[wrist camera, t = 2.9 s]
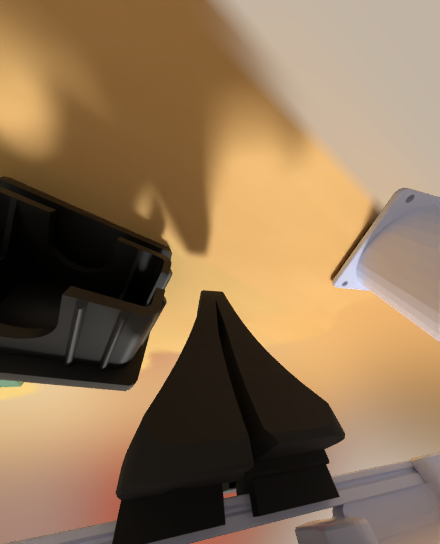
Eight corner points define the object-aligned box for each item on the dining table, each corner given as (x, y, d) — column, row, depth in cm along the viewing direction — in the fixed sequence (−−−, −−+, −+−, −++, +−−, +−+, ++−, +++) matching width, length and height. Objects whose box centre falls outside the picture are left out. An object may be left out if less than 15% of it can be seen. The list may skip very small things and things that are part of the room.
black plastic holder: (-6, 275, 11) (-218, 395, 5) (-17, 165, 8) (-543, 175, 2) (148, 315, 15) (119, 411, 9) (181, 252, 12) (168, 337, 6)
